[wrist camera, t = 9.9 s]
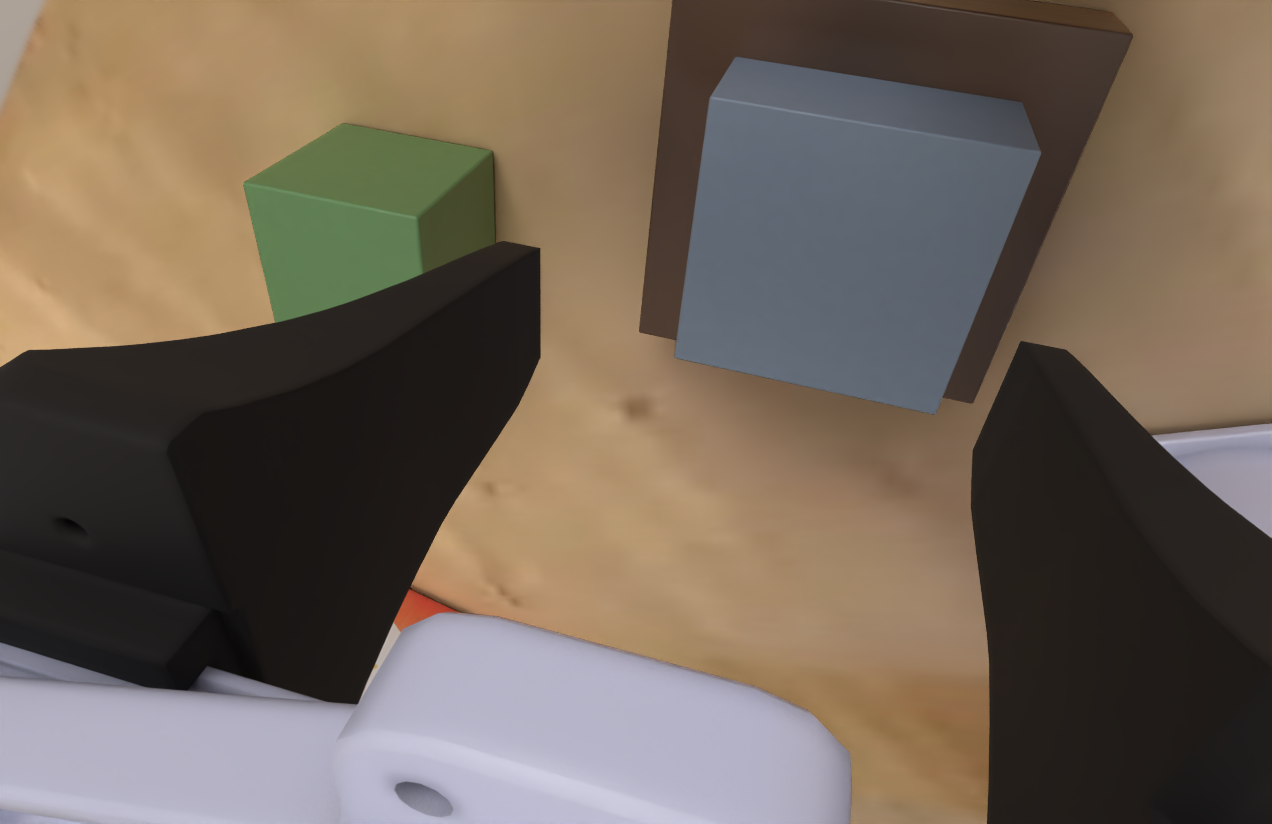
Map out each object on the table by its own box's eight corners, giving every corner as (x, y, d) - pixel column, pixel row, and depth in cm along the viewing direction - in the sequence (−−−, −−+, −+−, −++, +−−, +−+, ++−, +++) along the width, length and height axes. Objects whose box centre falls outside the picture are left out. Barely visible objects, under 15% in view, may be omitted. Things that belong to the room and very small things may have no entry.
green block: (493, 150, 22) (417, 217, 19) (498, 294, 25) (432, 376, 22) (342, 121, 23) (241, 181, 20) (363, 265, 26) (277, 340, 22)
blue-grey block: (1023, 101, 17) (1042, 152, 14) (932, 344, 20) (935, 416, 18) (734, 55, 17) (709, 96, 15) (698, 296, 21) (673, 358, 19)
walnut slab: (1113, 11, 17) (1135, 34, 15) (968, 363, 23) (972, 404, 21) (694, -48, 18) (675, -33, 17) (655, 298, 24) (638, 332, 22)
